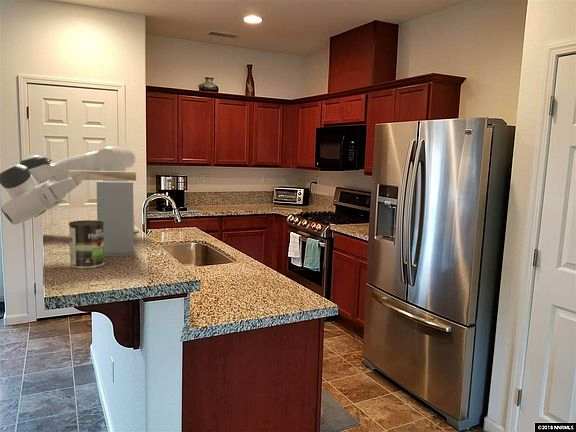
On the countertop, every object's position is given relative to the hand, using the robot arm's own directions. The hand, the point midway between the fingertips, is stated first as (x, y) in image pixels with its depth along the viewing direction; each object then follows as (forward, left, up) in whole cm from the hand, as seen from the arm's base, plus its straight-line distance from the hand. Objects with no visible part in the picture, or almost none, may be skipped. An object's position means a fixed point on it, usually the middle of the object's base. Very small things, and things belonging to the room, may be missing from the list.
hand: (88, 174), depth 157 cm
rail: (0, +5, -2) cm, 5 cm away
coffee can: (+16, 0, -29) cm, 33 cm away
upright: (0, +9, -29) cm, 30 cm away
